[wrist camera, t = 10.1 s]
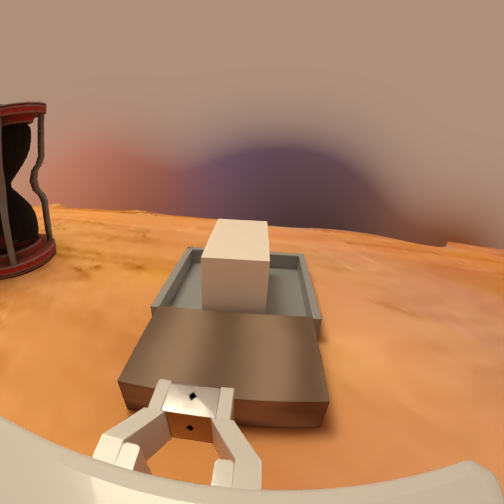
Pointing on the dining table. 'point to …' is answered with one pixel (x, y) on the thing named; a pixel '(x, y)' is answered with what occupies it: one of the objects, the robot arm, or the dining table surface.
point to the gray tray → (278, 295)
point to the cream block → (236, 267)
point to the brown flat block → (233, 363)
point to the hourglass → (14, 205)
